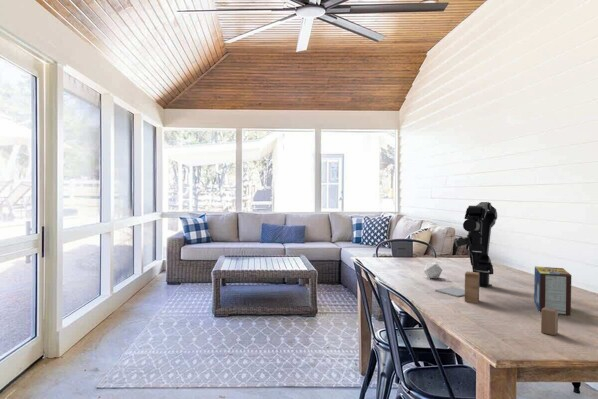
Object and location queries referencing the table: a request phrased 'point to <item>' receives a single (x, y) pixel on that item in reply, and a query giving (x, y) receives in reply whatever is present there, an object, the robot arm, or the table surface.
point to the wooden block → (549, 321)
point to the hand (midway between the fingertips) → (473, 266)
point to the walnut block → (472, 287)
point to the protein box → (552, 289)
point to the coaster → (452, 291)
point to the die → (432, 270)
